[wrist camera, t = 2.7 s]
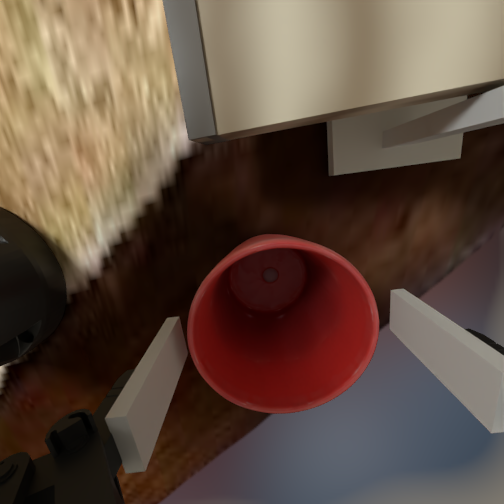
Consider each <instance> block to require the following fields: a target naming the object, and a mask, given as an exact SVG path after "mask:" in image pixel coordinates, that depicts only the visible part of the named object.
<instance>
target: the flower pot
mask: <svg viewBox="0 0 504 504" xmlns="http://www.w3.org/2000/svg"><path fill="white" fill-rule="evenodd" d="M378 335H379V315H378V309H377V305H376V301H375V298H374V295H373V293H372V291H371V289H370V287H369V285H368V283H367V282H366V280H365V279H364V277H363V276H362V275H361V274H360V272H359V271H358V270H357V269H356V268H355V267H354V266H353V265H352V264H351V263H350V262H349V261H348V260H346V259H345V258H344V257H342V256H341V255H339V254H338V253H336V252H334V251H333V250H331V249H329V248H326V247H324V246H322V245H319V244H317V243H313V242H310V241H307V240H303V239H300V238H296V237H292V236H287V235H279V234H263V235H258V236H255V237H252V238H250V239H248V240H246V241H244V242H243V243H241V244H240V245H238V246H237V247H236V248H235V249H233V250H232V251H231V252H230V253H229V254H228V255H227V256H226V257H225V258H224V259H222V260H221V261H220V262H219V263H218V264H217V265H216V266H215V267H214V268H213V269H212V271H211V272H210V273H209V274H208V275H207V276H206V278H205V279H204V281H203V282H202V283H201V285H200V287H199V288H198V290H197V292H196V294H195V296H194V299H193V301H192V304H191V307H190V311H189V316H188V323H187V340H188V346H189V350H190V354H191V357H192V360H193V362H194V364H195V366H196V368H197V370H198V371H199V373H200V375H201V376H202V377H203V379H204V380H205V381H206V382H207V383H208V384H209V385H210V386H211V387H212V388H213V389H214V390H215V391H216V392H217V393H218V394H220V395H221V396H222V397H224V398H225V399H227V400H228V401H230V402H232V403H234V404H236V405H239V406H241V407H244V408H247V409H250V410H254V411H258V412H264V413H273V414H277V413H293V412H299V411H304V410H308V409H311V408H315V407H317V406H320V405H322V404H324V403H327V402H328V401H331V400H332V399H334V398H335V397H337V396H339V395H340V394H342V393H343V392H344V391H346V390H347V389H348V388H349V387H351V386H352V385H353V384H354V383H355V382H356V381H357V379H358V378H359V377H360V376H361V375H362V373H363V372H364V371H365V369H366V368H367V366H368V364H369V363H370V361H371V359H372V356H373V354H374V351H375V348H376V345H377V341H378Z"/></svg>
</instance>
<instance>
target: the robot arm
mask: <svg viewBox="0 0 504 504" xmlns="http://www.w3.org/2000/svg"><path fill="white" fill-rule="evenodd" d="M65 306H66V286H65V281H64V277H63V274H62V271H61V268H60V266H59V264H58V262H57V260H56V258H55V256H54V255H53V253H52V251H51V250H50V249H49V247H48V246H47V245H46V243H45V242H44V241H43V240H42V239H41V237H40V236H39V235H38V234H37V233H36V232H35V231H34V230H33V229H31V228H30V227H29V226H28V225H27V224H25V223H24V222H23V221H22V220H20V219H19V218H17V217H16V216H14V215H13V214H11V213H9V212H7V211H6V210H4V209H2V208H0V366H2V365H5V364H7V363H9V362H12V361H14V360H16V359H18V358H20V357H21V356H23V355H25V354H26V353H28V352H29V351H31V350H32V349H33V348H34V347H36V346H37V345H38V344H40V343H41V342H42V341H44V340H45V339H46V338H47V337H48V336H50V335H51V334H52V333H53V332H54V330H55V329H56V328H57V326H58V325H59V323H60V321H61V319H62V317H63V314H64V311H65ZM390 330H391V331H392V332H393V333H394V334H395V335H396V336H397V337H398V338H399V340H400V341H401V342H402V343H403V344H404V345H405V346H406V347H407V348H409V350H410V351H411V352H412V353H413V354H414V355H415V356H416V357H417V358H418V359H419V360H420V361H421V362H422V363H423V364H424V365H425V366H426V367H427V368H428V369H429V370H430V371H431V372H432V373H433V374H434V375H435V376H436V377H437V378H438V379H439V380H440V381H441V382H442V383H443V384H444V385H445V386H446V387H447V389H449V391H450V392H451V393H452V394H453V395H455V397H456V398H457V399H458V400H459V401H460V402H461V403H462V404H463V405H464V406H465V407H466V408H467V409H468V410H469V411H470V412H471V413H472V414H473V415H474V416H475V417H476V418H477V419H478V420H479V421H480V422H481V423H482V424H483V425H484V426H485V427H486V428H487V429H488V430H489V431H490V432H491V433H499V432H504V347H502V346H501V345H499V344H496V343H495V342H494V341H493V340H491V339H489V338H488V337H486V336H485V335H483V334H481V333H478V332H476V331H473V330H471V329H463V328H462V327H460V326H459V325H457V324H456V323H454V322H453V321H451V320H450V319H448V318H447V317H445V316H444V315H442V314H441V313H439V312H438V311H436V310H435V309H433V308H432V307H430V306H429V305H427V304H426V303H424V302H423V301H421V300H420V299H418V298H417V297H415V296H414V295H412V294H411V293H409V292H408V291H406V290H405V289H396V290H391V297H390ZM187 355H188V351H187V347H186V343H185V339H184V334H183V330H182V326H181V322H180V318H179V316H178V317H170V318H167V319H166V320H165V322H164V324H163V325H162V327H161V329H160V330H159V332H158V333H157V335H156V337H155V338H154V340H153V341H152V343H151V345H150V346H149V348H148V350H147V351H146V353H145V354H144V356H143V358H142V359H141V361H140V362H139V364H138V366H137V367H136V369H132V370H127V371H126V372H125V373H124V374H123V375H121V376H120V377H119V378H118V379H117V381H116V382H115V384H114V385H113V387H112V389H111V390H110V391H109V393H108V394H107V395H106V398H104V400H103V401H102V403H101V404H100V406H99V407H98V409H97V410H96V412H95V413H94V415H93V416H92V414H91V412H90V411H89V410H87V409H80V410H76V411H74V412H71V413H69V414H67V415H66V416H64V417H63V418H61V419H60V420H59V421H58V422H57V423H55V424H54V425H53V426H52V427H51V429H50V430H49V432H48V433H47V435H46V438H45V442H46V444H47V446H48V448H49V450H50V452H51V453H50V454H47V455H45V456H42V457H40V458H37V459H35V460H32V459H31V457H30V456H29V454H28V453H27V452H20V453H17V454H14V455H11V456H9V457H8V458H6V459H4V460H2V461H1V462H0V504H125V503H124V499H123V496H122V492H121V488H120V484H119V481H118V478H117V475H116V474H117V472H118V470H119V468H120V465H121V463H122V464H123V467H124V469H125V472H126V473H133V472H142V471H146V468H147V465H148V463H149V460H150V457H151V454H152V452H153V449H154V446H155V443H156V441H157V438H158V435H159V432H160V430H161V427H162V424H163V421H164V419H165V416H166V413H167V410H168V408H169V405H170V402H171V399H172V397H173V394H174V391H175V388H176V386H177V383H178V380H179V377H180V374H181V372H182V369H183V366H184V363H185V361H186V358H187Z"/></svg>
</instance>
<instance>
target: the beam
mask: <svg viewBox="0 0 504 504" xmlns="http://www.w3.org/2000/svg"><path fill="white" fill-rule="evenodd" d="M163 5H164V10H165V16H166V21H167V26H168V32H169V37H170V42H171V48H172V53H173V58H174V63H175V69H176V74H177V79H178V85H179V90H180V95H181V101H182V106H183V111H184V117H185V122H186V127H187V133H188V138H189V140H191V141H195V142H198V143H202V144H205V145H209V144H214V143H219V142H225V141H230V140H232V139H237V138H243V137H248V136H253V135H258V134H264V133H269V132H274V131H280V130H285V129H290V128H295V127H301V126H306V125H311V124H317V123H322V122H327V121H332V120H338V119H343V118H348V117H354V116H359V115H364V114H369V113H375V112H380V111H385V110H391V109H396V108H401V107H406V106H412V105H417V104H422V103H428V102H433V101H438V100H443V99H449V98H454V97H459V96H465V95H470V94H475V93H484V92H488V91H491V90H493V89H496V88H499V87H501V86H504V0H163Z"/></svg>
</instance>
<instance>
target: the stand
mask: <svg viewBox="0 0 504 504" xmlns="http://www.w3.org/2000/svg"><path fill="white" fill-rule="evenodd" d="M502 123H504V86H501V87H499V88H496V89H493V90H491V91H488V92H486V93H483V94H480V95H478V96H475V97H472V98H470V99H467V95H465V96H459V97H454V98H449V99H443V100H438V101H433V102H428V103H422V104H417V105H412V106H406V107H401V108H396V109H391V110H385V111H380V112H375V113H369V114H364V115H359V116H354V117H348V118H343V119H338V120H332V121H327V142H328V168H329V176H334V175H341V174H348V173H356V172H363V171H371V170H378V169H385V168H393V167H400V166H407V165H415V164H422V163H429V162H437V161H444V160H451V159H459V158H461V149H462V140H463V133H464V132H468V131H472V130H477V129H481V128H485V127H489V126H494V125H498V124H502Z"/></svg>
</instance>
